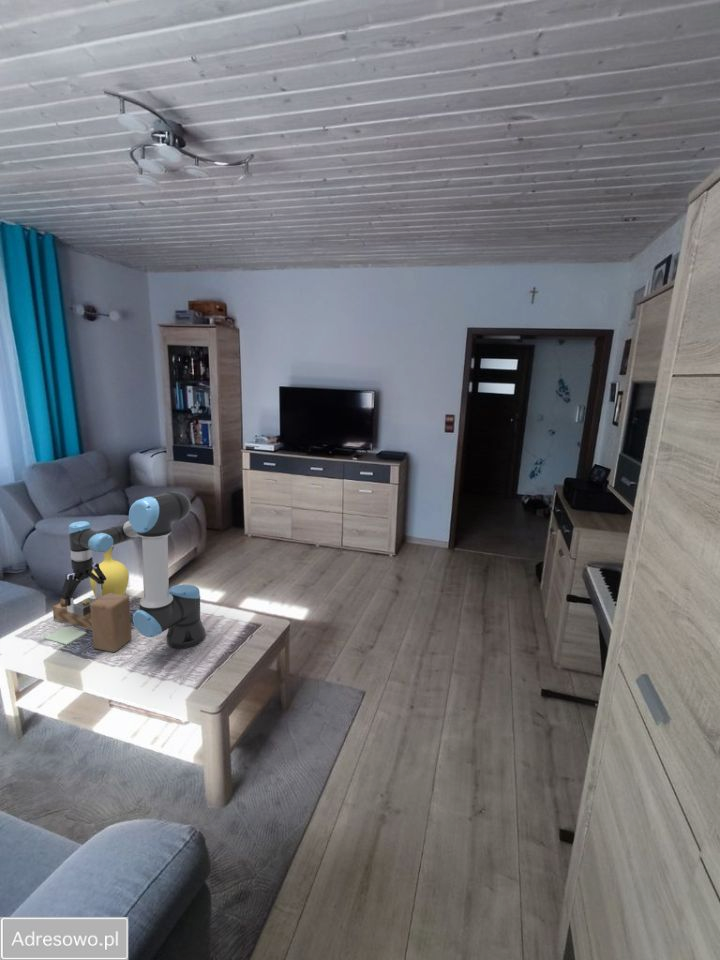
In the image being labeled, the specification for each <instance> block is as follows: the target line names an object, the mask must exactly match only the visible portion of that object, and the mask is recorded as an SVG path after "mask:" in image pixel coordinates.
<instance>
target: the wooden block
mask: <svg viewBox="0 0 720 960" xmlns="http://www.w3.org/2000/svg"><path fill="white" fill-rule="evenodd" d="M90 608H91V620H92V631H91V633H92V642H93V644H92V645H93V649H95V650H100V651H105V652H111V653H115V652H118V651H119V650H120V649H121V648H123V646H125V645H126V644H127V643H129V642H130V641H131V640H132V625H131V624H132V623H131V612H130V611H131V610H130V597H129V596H128V595H119V594H113V593H108V594H106V595H104V596H102V597H101V598H99V599H96V601H94V602H92V603H91V605H90Z"/></svg>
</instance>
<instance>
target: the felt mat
mask: <svg viewBox="0 0 720 960" xmlns="http://www.w3.org/2000/svg"><path fill="white" fill-rule="evenodd" d="M86 634H88V633H87V631H82V630H78V629H75V628H71V627H67V626H63V627H61V628H59V629H57V630H55V631H54V632H52V633H50V634H49V635H46V636H45V637H43V640H46V641H50V642H52V641H53V642H54V643H56V642H57V643H56V644H60V643H62V644H61V645H63V644H66V645H65V646H68V645H69V643H70V644H71V642H72V641H73V642H75V641H77V640H78V639H81V638H82V637H83V636H85V635H86ZM76 639H77V640H76ZM74 640H75V641H74ZM73 642H72V643H73ZM67 644H68V645H67Z"/></svg>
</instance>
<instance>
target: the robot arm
mask: <svg viewBox="0 0 720 960" xmlns="http://www.w3.org/2000/svg"><path fill="white" fill-rule="evenodd" d="M190 501H191V500H190V499H189V498H188V496H187V495H185V493H182V492H179V491H169V492H165V493H160V494H156V495H152V496H146V497H143V498H140V499H137V500H135V502H133V503H132V504H131V506H130V508H129V511H128V520H127V521H125V522H123V523H121V524H117V525H115V526H112V527H108V528H104V529H101V530H94V529H91V528H92V527H91V524H90V522H89V521H84V520H82V521H74V522H72V523H70V524H69V525H68V538H69V549H70V559H71V560H70V561H71V569H72V573H67V574H65V580H64V583H63V586H62V589H61V591H60V595H59V599H65V605H66V606H67V611H68V612H71V613H74V604H75V603H74V598H73V595H74V593H75V591H76V589H77V587H79V584H80V583H81V582H82V581H84V580H85V579H90V578H92V579H93V580H94V581H96V582H97V583H95V592H96V597H97V598H101V597H102V589H103V586H102V584H104V580H106V577H105V575H104V574H103V572H102V571H101V569H100V568H99V564H100V563H97V562H93V561H94V559H93V552H97V553H104V552H107V551H108V550H109V549H110V548H111V547H112V546H113V547H114V546H115V545H118V544H121V543H124V542H128V541H132V540H134V539H137V538H139V537H140V538H141V547H142V550H141V551H142V553H141V554H142V576H143V578H142V579H143V581H142V582H143V596H142V598H140V599H139V609H137V610H135V612H133V614H132V621H133V625H134V627H135V629H136V630H137V632H138V633H140V635H142V636H144V637H146V638H154V637H156V636H158V635H160V634H162V633H163V632H165V631H167V633H166V637H165V638H166V644H167V646H169V647H171V648H174V649H188V648H189V649H190V648H191V647H195V646H197V645H198V644H200V643H202V642H203V641H204V640H205V639H206V629H205V627H204V625H203V621H202V619H201V593H200V592H201V591H200V588H199V587H198V586H196V585H194V584H193V585H192V584H187V583H186V584H185V583H183V584H177V585H173V586H171V587H169V586H170V584H169V583H170V582H169V539H168V538H169V537H168V536H170V534H172V533H173V524H174V523H177V522H181V521H183V520H184V519H185V518H186V517H187V516H188V515H189V513H190V512H191V509H192V508H191V506H192V504H191V502H190ZM93 570H94V571H95V573H96V574H97V576H98V577H99V578H98V577H97V576H96V575H95V574H93V573H92V571H93ZM96 597H95V598H96Z"/></svg>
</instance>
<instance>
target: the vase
mask: <svg viewBox="0 0 720 960" xmlns="http://www.w3.org/2000/svg"><path fill="white" fill-rule="evenodd" d="M113 547H114V545H113V546H112V547H111V548H110V549H109V550H108V551H107V552H103V553H104V555H103V557H104V558H103V560H102V562H100V563H98V564H99V568H100V569H101V571H102V572H103V574H104V575H105V577H106V580H104V584H102V586H103V589H102V596H104V595H106V594H108V593H113V594H119V595H125V594H126V591H127V588H128V584H129V579H130V578H129V571H128V569H127V566H126V565H125V564H123V563H122V562H120V561H117V560H115V559H114V558H113V556H112V550H113ZM92 573H93V574H95V575H96V576H97V574H96V573H95V571H94V570H92ZM97 577H98V576H97ZM98 578H99V577H98ZM95 583H97V582H96V581H94V580H93V579H92V578H90V577H89V584H90V587H91V590H92V592H93V594H94V597H95V598H96V600H97V599H99V598H97V597H96V592H95ZM125 596H126V595H125Z"/></svg>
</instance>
